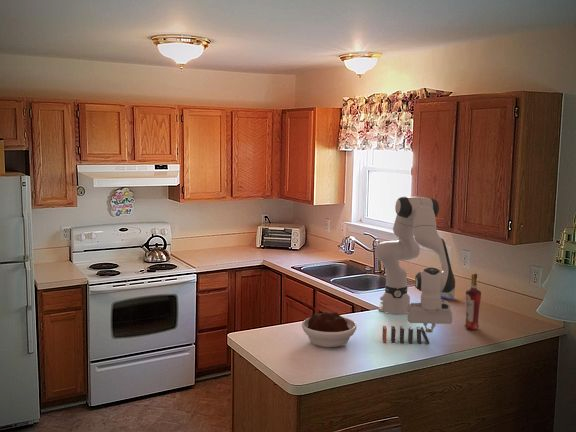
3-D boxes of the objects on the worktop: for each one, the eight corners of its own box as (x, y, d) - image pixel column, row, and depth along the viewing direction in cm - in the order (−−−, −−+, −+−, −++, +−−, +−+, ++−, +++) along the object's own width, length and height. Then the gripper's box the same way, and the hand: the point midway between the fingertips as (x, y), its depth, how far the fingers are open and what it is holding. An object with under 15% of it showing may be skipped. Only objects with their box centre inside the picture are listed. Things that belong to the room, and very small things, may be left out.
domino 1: (382, 340, 278) (382, 325, 277) (385, 340, 278) (385, 325, 277) (383, 343, 274) (383, 328, 273) (386, 343, 274) (386, 328, 273)
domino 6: (425, 341, 277) (419, 327, 276) (428, 340, 277) (422, 326, 276) (426, 344, 273) (421, 330, 272) (429, 343, 273) (424, 329, 272)
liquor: (460, 327, 298) (463, 272, 294) (472, 325, 300) (475, 271, 296) (470, 331, 291) (473, 276, 287) (482, 330, 293) (485, 274, 290)
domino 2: (390, 340, 278) (391, 326, 277) (393, 340, 278) (394, 326, 277) (392, 343, 273) (392, 328, 272) (395, 343, 273) (395, 329, 272)
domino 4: (408, 340, 277) (408, 326, 276) (411, 340, 277) (411, 326, 276) (409, 343, 273) (410, 329, 272) (412, 343, 273) (413, 329, 272)
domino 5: (416, 340, 277) (416, 326, 276) (419, 340, 277) (419, 326, 276) (418, 344, 273) (418, 329, 272) (421, 344, 273) (421, 329, 272)
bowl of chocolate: (322, 330, 290) (323, 301, 288) (366, 342, 274) (367, 311, 272) (290, 344, 271) (291, 312, 269) (335, 357, 255) (336, 324, 253)
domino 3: (399, 340, 277) (399, 326, 276) (402, 340, 277) (402, 326, 276) (400, 343, 273) (401, 329, 272) (403, 343, 273) (404, 329, 272)
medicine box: (439, 298, 350) (440, 284, 349) (441, 296, 354) (441, 282, 353) (452, 300, 346) (453, 285, 345) (454, 298, 350) (455, 284, 349)
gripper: (408, 304, 270) (407, 333, 271) (454, 305, 269) (452, 334, 271) (406, 300, 276) (405, 329, 278) (450, 301, 275) (449, 330, 277)
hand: (429, 332), depth 274 cm, fingers closed
